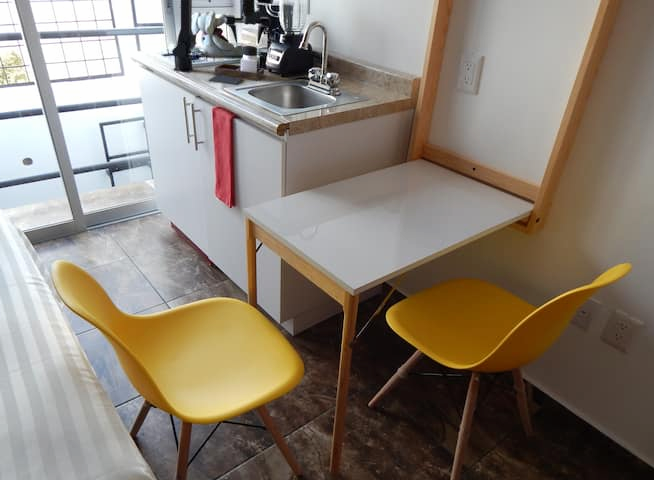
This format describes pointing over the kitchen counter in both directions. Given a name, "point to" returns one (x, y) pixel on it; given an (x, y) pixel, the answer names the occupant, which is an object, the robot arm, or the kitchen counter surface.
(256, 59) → the medicine bottle
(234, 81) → the mat
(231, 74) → the holder
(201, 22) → the plush elephant
